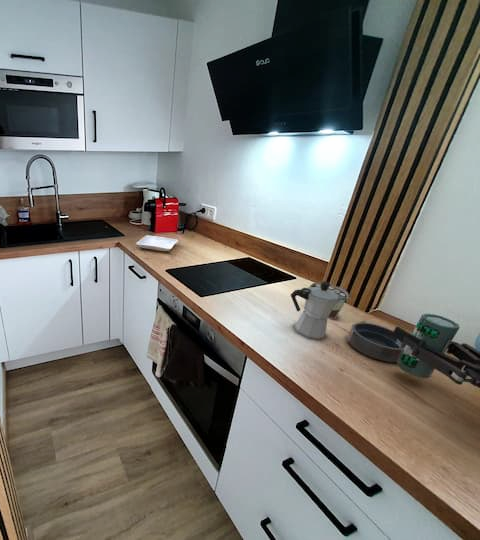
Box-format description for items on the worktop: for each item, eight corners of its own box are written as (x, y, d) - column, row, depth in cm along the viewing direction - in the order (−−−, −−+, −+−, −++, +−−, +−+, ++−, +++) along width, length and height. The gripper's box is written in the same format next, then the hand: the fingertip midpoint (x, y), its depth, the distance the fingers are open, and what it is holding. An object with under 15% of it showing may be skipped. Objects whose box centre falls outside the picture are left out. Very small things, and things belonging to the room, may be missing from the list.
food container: (346, 316, 104) (356, 292, 100) (339, 321, 100) (349, 296, 96) (310, 302, 113) (318, 279, 109) (302, 306, 110) (310, 283, 106)
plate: (146, 239, 184) (146, 234, 183) (178, 244, 177) (179, 239, 175) (134, 248, 166) (135, 243, 165) (170, 254, 159) (170, 248, 157)
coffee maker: (325, 327, 97) (343, 279, 90) (336, 342, 89) (357, 292, 82) (277, 320, 100) (291, 273, 93) (284, 334, 92) (300, 285, 85)
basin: (393, 342, 90) (399, 329, 88) (411, 369, 79) (419, 355, 77) (342, 331, 95) (347, 318, 93) (353, 355, 84) (359, 341, 82)
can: (396, 358, 78) (421, 311, 72) (427, 368, 74) (456, 320, 68) (398, 370, 74) (424, 321, 68) (431, 381, 70) (461, 331, 64)
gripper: (474, 419, 55) (368, 343, 76) (560, 413, 57) (433, 340, 78) (496, 390, 52) (379, 319, 73) (585, 384, 54) (446, 317, 75)
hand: (407, 330), depth 75 cm, fingers closed on can, 6 cm apart
